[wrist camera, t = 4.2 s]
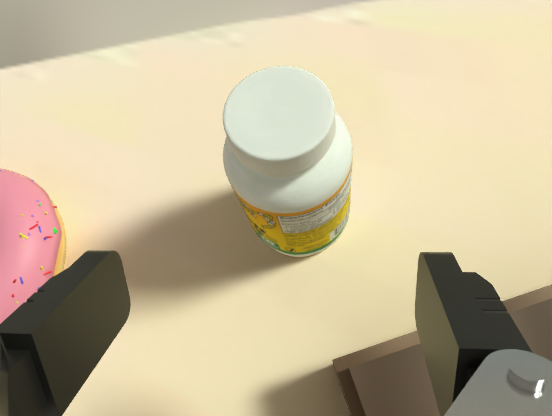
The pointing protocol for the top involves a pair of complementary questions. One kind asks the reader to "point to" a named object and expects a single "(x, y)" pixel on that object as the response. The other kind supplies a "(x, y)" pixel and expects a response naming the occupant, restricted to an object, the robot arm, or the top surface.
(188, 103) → the top surface
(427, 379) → the display podium
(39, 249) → the doughnut
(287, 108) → the supplement bottle
